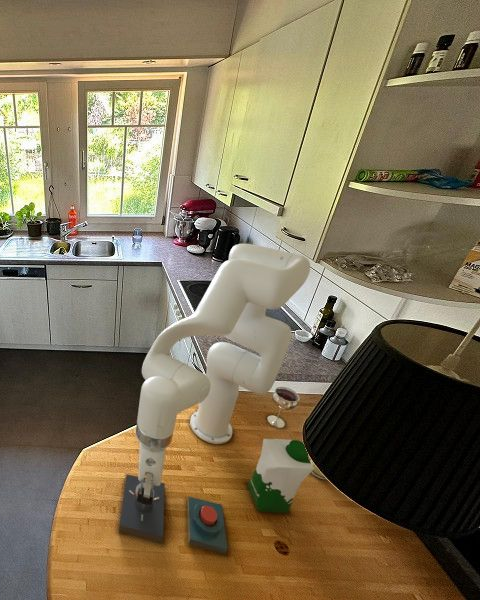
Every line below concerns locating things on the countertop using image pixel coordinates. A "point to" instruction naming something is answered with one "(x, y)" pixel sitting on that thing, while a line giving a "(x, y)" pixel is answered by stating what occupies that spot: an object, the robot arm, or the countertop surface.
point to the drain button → (208, 515)
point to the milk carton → (279, 474)
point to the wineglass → (283, 404)
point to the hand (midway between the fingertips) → (145, 481)
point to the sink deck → (142, 513)
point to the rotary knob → (139, 505)
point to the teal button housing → (206, 527)
